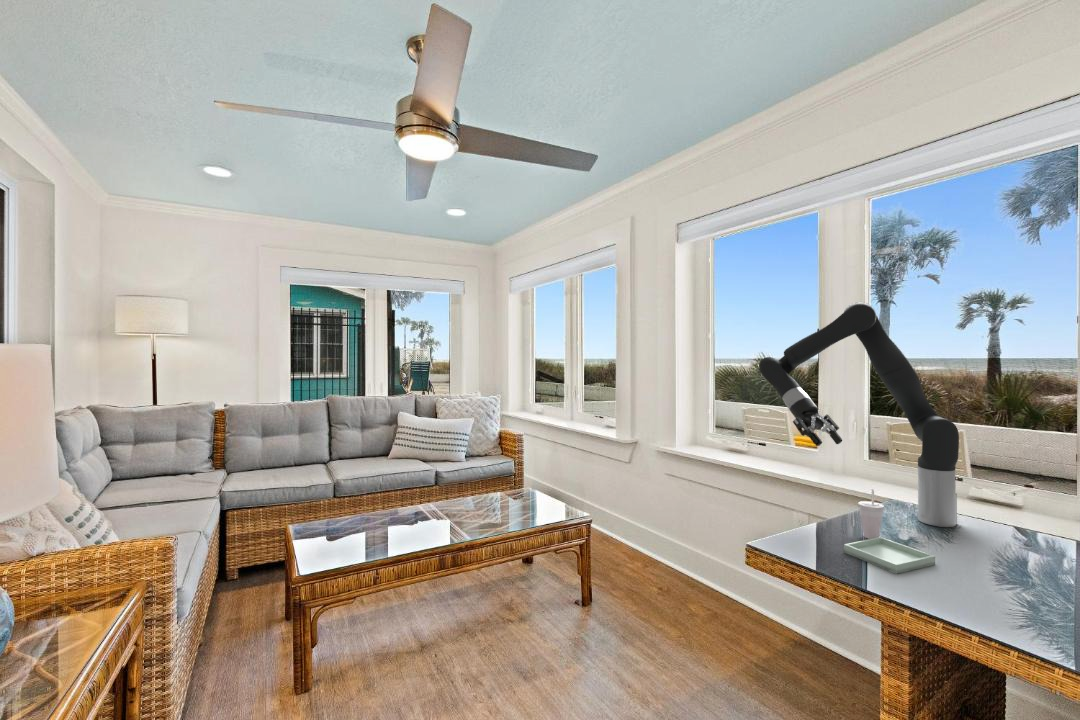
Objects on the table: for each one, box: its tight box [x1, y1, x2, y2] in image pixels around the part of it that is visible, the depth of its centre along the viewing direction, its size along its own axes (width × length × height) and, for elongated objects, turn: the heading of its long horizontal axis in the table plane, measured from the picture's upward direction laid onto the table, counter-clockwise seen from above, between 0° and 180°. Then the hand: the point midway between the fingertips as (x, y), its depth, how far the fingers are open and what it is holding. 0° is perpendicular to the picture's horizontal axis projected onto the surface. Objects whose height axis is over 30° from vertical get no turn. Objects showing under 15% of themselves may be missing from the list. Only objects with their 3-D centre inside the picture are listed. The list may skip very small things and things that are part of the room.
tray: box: [843, 536, 936, 575], centre depth 129 cm, size 14×14×2 cm
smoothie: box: [857, 488, 885, 540], centre depth 144 cm, size 6×6×14 cm
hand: (830, 443), depth 156 cm, fingers open, 8 cm apart
